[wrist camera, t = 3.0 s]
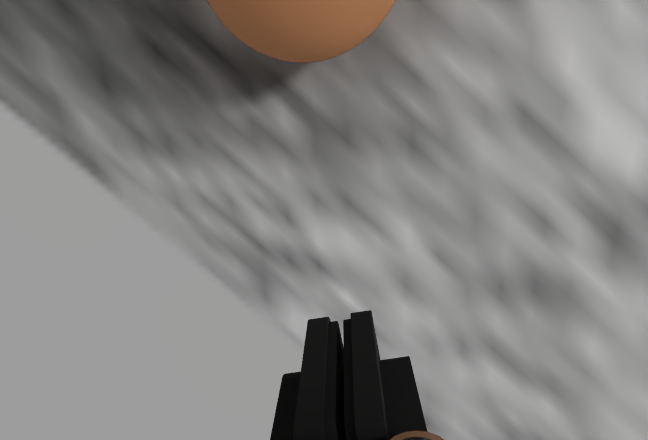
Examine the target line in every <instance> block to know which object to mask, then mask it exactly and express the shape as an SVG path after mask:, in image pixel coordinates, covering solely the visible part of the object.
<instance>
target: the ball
mask: <svg viewBox="0 0 648 440" xmlns="http://www.w3.org/2000/svg"><path fill="white" fill-rule="evenodd" d="M207 1H208V3H209V5H210V6H211V8H212V10H213V11H214V13H215V14H216V16H217V17H218V18H219V20H220V21H221V22H222V23H223V25H224V26H225V27H226V28H227V29H228V30H229V31H230V32H231V33H232V34H233V35H234V36H235V37H237V38H238V39H239V40H240V41H242V42H243V43H244V44H246V45H248V46H249V47H251V48H252V49H254V50H256V51H258V52H260V53H262V54H265V55H267V56H269V57H272V58H276V59H279V60H283V61H289V62H316V61H322V60H326V59H330V58H333V57H336V56H338V55H340V54H343V53H345V52H347V51H349V50H350V49H352V48H354V47H355V46H357V45H358V44H360V43H361V42H362V41H363V40H365V39H366V38H367V37H368V36H369V35H370V34H371V33H372V32H373V31H374V30H375V29H376V28H377V27H378V26H379V25H380V23H381V22H382V21H383V20H384V18H385V17H386V16H387V14H388V12H389V11H390V9H391V7H392V5H393V4H394V2H395V0H207Z"/></svg>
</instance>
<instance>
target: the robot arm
mask: <svg viewBox="0 0 648 440" xmlns="http://www.w3.org/2000/svg"><path fill="white" fill-rule="evenodd" d="M343 326H344V348H343V343H342V338H341V333H340V329H339V324H338V321H334V322H331V321H330V318H329V317H323V318H317V319H310V320H308V324H307V331H306V339H305V346H304V353H303V361H302V368H301V372H295V373H288V374H284V375H283V378H282V382H281V387H280V392H279V398H278V402H277V407H276V413H275V418H274V423H273V428H272V433H271V438H270V440H444V439H442V438H441V437H439V436H438V435H435V434H432V433H430V432H427V428H426V424H425V420H424V416H423V412H422V407H421V403H420V399H419V395H418V391H417V386H416V382H415V378H414V374H413V370H412V365H411V361H410V357H409V356H408V357H400V358H393V359H386V360H380V356H379V350H378V345H377V339H376V334H375V328H374V323H373V317H372V312H371V310H369V311H363V312H356V313H351V319H347V320H344V321H343Z"/></svg>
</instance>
